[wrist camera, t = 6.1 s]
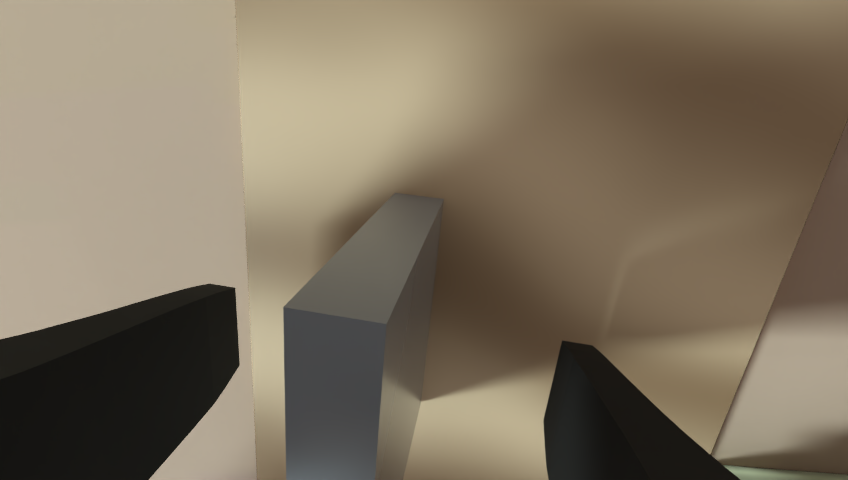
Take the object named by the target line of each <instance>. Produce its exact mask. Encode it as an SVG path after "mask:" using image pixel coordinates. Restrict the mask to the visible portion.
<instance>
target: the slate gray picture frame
mask: <svg viewBox="0 0 848 480" xmlns="http://www.w3.org/2000/svg"><path fill="white" fill-rule="evenodd" d="M443 203H444V199H441V198H433V197H425V196H417V195H410V194H402V193H394V194H393V195H392V196H391V197H390V198H389V199H388V200H387V201H386V202H385V204H384V205H383V206H382V207H381V208H380V209H379V210H378V211H377V212H376V213H375V214H374V215H373V216H372V217H371V218H370V219H369V220H368V221H367V222H366V223H365V224H364V225H363V226H362V227H361V228H360V229H359V230H358V231H357V232H356V233H355V234H354V235H353V236H352V237H351V238H350V239H349V240H348V241H347V242H346V243H345V244H344V245H343V247H342V248H341V249H340V250H339V251H338V252H337V253H336V254H335V255H334V256H333V257H332V258H331V259H330V260H329V261H328V262H327V263H326V264H325V265H324V266H323V267H322V268H321V269H320V270H319V271H318V272H317V273H316V274H315V275H314V276H313V277H312V278H311V279H310V280H309V281H308V282H307V283H306V284H305V285H304V286H303V287H302V288H301V290H300V291H299V292H298V293H297V294H296V295H295V296H294V297H293V298H292V299H291V300H290V301H289V302H288V303H287V304H286V305H285V306H284V307H283V321H284V380H285V438H286V480H403V478H404V473H405V469H406V465H407V460H408V456H409V452H410V447H411V443H412V439H413V434H414V430H415V426H416V421H417V417H418V413H419V408H420V404H421V398H422V389H423V380H424V371H425V362H426V353H427V344H428V336H429V327H430V318H431V309H432V300H433V291H434V282H435V274H436V265H437V256H438V247H439V238H440V229H441V220H442V211H443Z"/></svg>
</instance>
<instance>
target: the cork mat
mask: <svg viewBox="0 0 848 480" xmlns="http://www.w3.org/2000/svg"><path fill="white" fill-rule="evenodd" d="M235 9H236V30H237V52H238V74H239V96H240V117H241V139H242V161H243V183H244V204H245V226H246V248H247V270H248V292H249V313H250V335H251V357H252V379H253V400H254V422H255V444H256V466H257V480H286V438H285V380H284V321H283V307H284V306H285V305H286V304H287V303H288V302H289V301H290V300H291V299H292V298H293V297H294V296H295V295H296V294H297V293H298V292H299V291H300V290H301V288H302V287H303V286H304V285H305V284H306V283H307V282H308V281H309V280H310V279H311V278H312V277H313V276H314V275H315V274H316V273H317V272H318V271H319V270H320V269H321V268H322V267H323V266H324V265H325V264H326V263H327V262H328V261H329V260H330V259H331V258H332V257H333V256H334V255H335V254H336V253H337V252H338V251H339V250H340V249H341V248H342V247H343V245H344V244H345V243H346V242H347V241H348V240H349V239H350V238H351V237H352V236H353V235H354V234H355V233H356V232H357V231H358V230H359V229H360V228H361V227H362V226H363V225H364V224H365V223H366V222H367V221H368V220H369V219H370V218H371V217H372V216H373V215H374V214H375V213H376V212H377V211H378V210H379V209H380V208H381V207H382V206H383V205H384V204H385V202H386V201H387V200H388V199H389V198H390V197H391V196H392V195H393V194H394V193H402V194H410V195H417V196H425V197H433V198H441V199H444V203H443V211H442V220H441V229H440V238H439V247H438V256H437V265H436V274H435V282H434V291H433V300H432V309H431V318H430V327H429V336H428V344H427V353H426V362H425V371H424V380H423V389H422V398H421V404H420V408H419V413H418V417H417V421H416V426H415V430H414V434H413V439H412V443H411V447H410V452H409V456H408V460H407V465H406V469H405V473H404V478H403V480H549V479H548V473H547V468H546V455H545V440H544V422H543V420H544V415H545V411H546V407H547V403H548V398H549V394H550V390H551V386H552V381H553V377H554V373H555V368H556V364H557V360H558V356H559V351H560V347H561V343H562V340H563V341H569V342H575V343H581V344H587V345H593V346H594V347H595V348H596V349H597V350H599V351H600V352H601V353H602V354H603V355H604V356H605V357H606V358H607V359H608V360H609V361H610V362H611V363H612V364H613V365H614V366H615V367H616V368H617V369H618V370H619V371H620V372H621V373H622V374H623V375H624V376H625V377H626V378H627V379H628V380H629V381H630V382H632V383H633V384H634V385H635V386H636V387H637V388H638V389H639V390H640V391H641V392H642V393H643V394H644V395H645V396H646V397H647V398H648V399H649V400H650V401H651V402H652V403H653V404H654V405H655V406H656V407H657V408H658V409H660V410H661V411H662V412H663V413H664V414H665V415H666V416H667V417H668V418H669V419H670V420H671V421H673V422H674V423H675V424H676V425H677V426H678V427H679V428H680V429H681V430H682V431H684V432H685V433H686V434H687V435H688V436H689V437H690V438H692V439H693V440H694V441H695V442H696V443H697V444H699V445H700V446H701V447H702V448H703V449H704V450H705V451H707V452H708V453H709V454H711V452H712V449H713V447H714V444H715V442H716V439H717V437H718V435H719V432H720V430H721V427H722V425H723V422H724V420H725V417H726V415H727V413H728V410H729V408H730V405H731V403H732V400H733V398H734V396H735V393H736V391H737V388H738V386H739V383H740V381H741V378H742V376H743V374H744V371H745V369H746V366H747V364H748V361H749V359H750V357H751V354H752V352H753V349H754V347H755V344H756V342H757V339H758V337H759V335H760V332H761V330H762V327H763V325H764V322H765V320H766V318H767V315H768V313H769V310H770V308H771V305H772V303H773V301H774V298H775V296H776V293H777V291H778V288H779V286H780V283H781V281H782V279H783V276H784V274H785V271H786V269H787V266H788V264H789V262H790V259H791V257H792V254H793V252H794V249H795V247H796V244H797V242H798V240H799V237H800V235H801V232H802V230H803V227H804V225H805V223H806V220H807V218H808V215H809V213H810V210H811V208H812V205H813V203H814V201H815V198H816V196H817V193H818V191H819V188H820V186H821V184H822V181H823V179H824V176H825V174H826V171H827V169H828V166H829V164H830V162H831V159H832V157H833V154H834V152H835V149H836V147H837V145H838V142H839V140H840V137H841V135H842V132H843V130H844V127H845V125H846V123H847V120H848V0H235Z"/></svg>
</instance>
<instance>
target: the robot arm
mask: <svg viewBox="0 0 848 480" xmlns="http://www.w3.org/2000/svg"><path fill="white" fill-rule="evenodd" d="M238 367H239V348H238V330H237V313H236V295H235V288H233V287H226V286H220V285H214V284H206V285H200V286H196V287H191V288H187V289H183V290H179V291H176V292H172V293H169V294H165V295H162V296H158V297H155V298H151V299H148V300H145V301H141V302H138V303H134V304H131V305H128V306H124V307H121V308H118V309H114V310H111V311H107V312H104V313H101V314H97V315H93V316H90V317H86V318H82V319H78V320H75V321H71V322H67V323H64V324H60V325H56V326H53V327H49V328H45V329H42V330H38V331H34V332H30V333H26V334H22V335H18V336H13V337H9V338H5V339H0V480H149V478H150V477H151V476H152V475H153V474H154V473H155V472H156V470H157V469H158V468H159V467H160V466H161V465H162V464H163V462H164V461H165V460H166V459H167V458H168V457H169V456H170V454H171V453H172V452H173V451H174V450H175V449H176V448H177V446H178V445H179V444H180V443H181V442H182V441H183V440H184V438H185V437H186V436H187V435H188V434H189V433H190V431H191V430H192V429H193V428H194V427H195V426H196V424H197V423H198V422H199V421H200V420H201V419H202V417H203V416H204V415H205V414H206V413H207V412H208V410H209V409H210V408H211V407H212V406H213V404H214V403H215V402H216V400H217V399H218V397H219V396H220V394H221V393H222V391H223V390H224V389H225V387H226V386H227V384H228V382H229V381H230V379H231V378H232V376H233V374H234V373H235V371H236V370H237V368H238ZM543 422H544V440H545V455H546V468H547V473H548V479H549V480H740V479H739V478H738V477H737V476H735V475H734V474H733V473H732V472H731V471H729V470H728V469H727V468H726V467H724V466H723V465H722V464H721V463H719V462H718V461H717V460H716V459H715V458H714V457H712V456H711V455H710V454H709V453H708V452H707V451H705V450H704V449H703V448H702V447H701V446H700V445H699V444H697V443H696V442H695V441H694V440H693V439H692V438H690V437H689V436H688V435H687V434H686V433H685V432H684V431H682V430H681V429H680V428H679V427H678V426H677V425H676V424H675V423H674V422H673V421H671V420H670V419H669V418H668V417H667V416H666V415H665V414H664V413H663V412H662V411H661V410H660V409H658V408H657V407H656V406H655V405H654V404H653V403H652V402H651V401H650V400H649V399H648V398H647V397H646V396H645V395H644V394H643V393H642V392H641V391H640V390H639V389H638V388H637V387H636V386H635V385H634V384H633V383H632V382H630V381H629V380H628V379H627V378H626V377H625V376H624V375H623V374H622V373H621V372H620V371H619V370H618V369H617V368H616V367H615V366H614V365H613V364H612V363H611V362H610V361H609V360H608V359H607V358H606V357H605V356H604V355H603V354H602V353H601V352H600V351H599V350H597V349H596V348H595V347H594V346H593V345H587V344H581V343H575V342H569V341H563V340H562V343H561V347H560V351H559V356H558V360H557V364H556V368H555V373H554V377H553V381H552V386H551V390H550V394H549V398H548V403H547V407H546V411H545V415H544V420H543Z"/></svg>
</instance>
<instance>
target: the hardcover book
mask: <svg viewBox="0 0 848 480" xmlns="http://www.w3.org/2000/svg"><path fill="white" fill-rule="evenodd" d="M723 466H724V467H726V468H727V469H728V470H729V471H731V472H732V473H733V474H734V475H735V476H737V477H738V478H739V479H740V480H848V475H845V474H832V473H819V472H805V471H792V470H779V469H766V468H753V467H740V466H727V465H723Z"/></svg>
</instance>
